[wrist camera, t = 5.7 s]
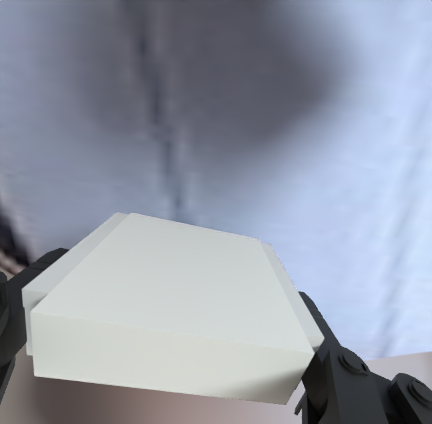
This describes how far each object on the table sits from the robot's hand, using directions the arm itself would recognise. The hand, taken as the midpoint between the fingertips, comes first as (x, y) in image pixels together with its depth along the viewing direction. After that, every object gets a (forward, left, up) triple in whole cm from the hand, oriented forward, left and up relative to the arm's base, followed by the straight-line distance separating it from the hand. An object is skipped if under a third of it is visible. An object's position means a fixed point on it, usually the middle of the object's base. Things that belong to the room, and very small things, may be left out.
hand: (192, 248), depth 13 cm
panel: (0, 0, 0) cm, 0 cm away
